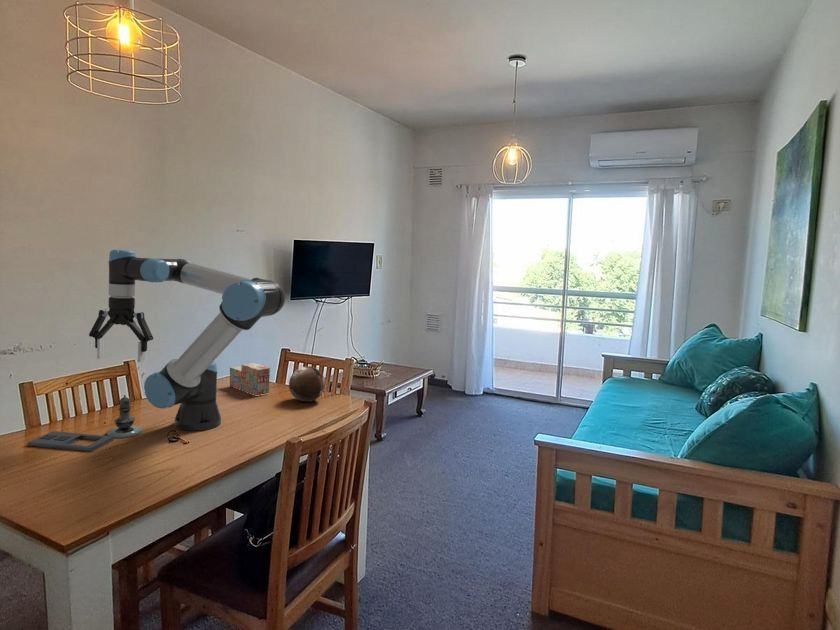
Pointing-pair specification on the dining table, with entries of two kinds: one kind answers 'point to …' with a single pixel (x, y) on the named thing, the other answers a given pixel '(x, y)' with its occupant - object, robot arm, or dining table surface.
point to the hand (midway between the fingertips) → (121, 359)
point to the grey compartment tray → (69, 441)
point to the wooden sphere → (307, 383)
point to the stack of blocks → (250, 378)
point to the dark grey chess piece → (124, 417)
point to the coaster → (114, 434)
